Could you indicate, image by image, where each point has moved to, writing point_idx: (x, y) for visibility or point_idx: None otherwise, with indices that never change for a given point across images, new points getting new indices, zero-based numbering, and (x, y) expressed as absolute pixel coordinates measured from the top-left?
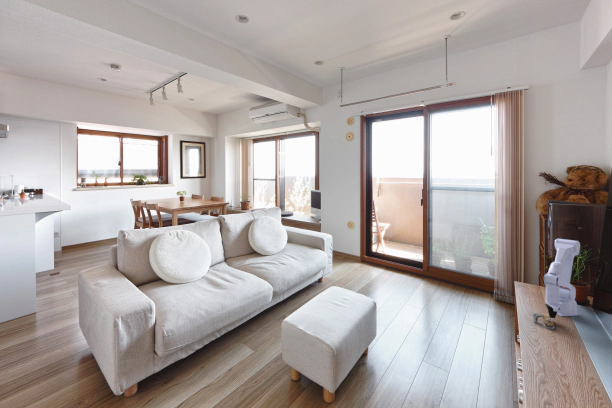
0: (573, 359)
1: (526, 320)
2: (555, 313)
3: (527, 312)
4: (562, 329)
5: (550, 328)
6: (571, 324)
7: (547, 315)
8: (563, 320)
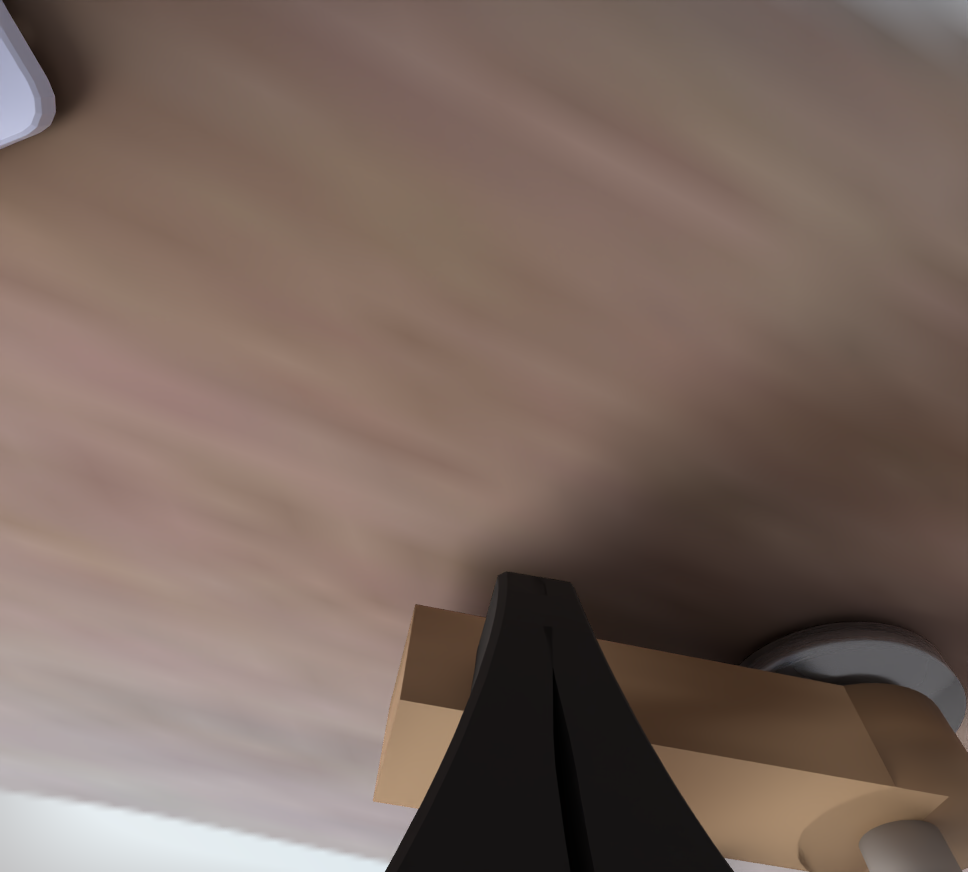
0: None
1: None
2: (626, 776)
3: (200, 770)
4: (961, 494)
5: None
6: (674, 63)
7: None
8: (394, 206)
